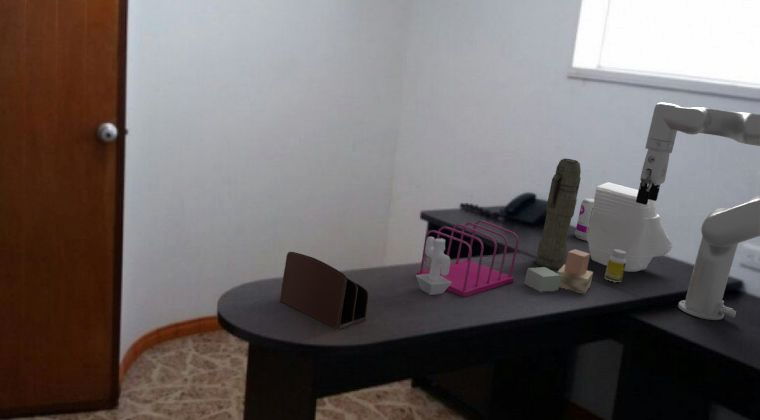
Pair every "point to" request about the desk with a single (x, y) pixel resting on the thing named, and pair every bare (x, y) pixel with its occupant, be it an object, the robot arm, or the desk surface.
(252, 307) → the desk surface
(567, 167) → the thermos
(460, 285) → the file sorter
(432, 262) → the figurine
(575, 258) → the terracotta block
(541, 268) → the sage block
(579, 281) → the maple block
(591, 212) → the supplement can
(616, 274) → the supplement bottle
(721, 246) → the robot arm
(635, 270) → the white rounded piece
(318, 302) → the letter holder
